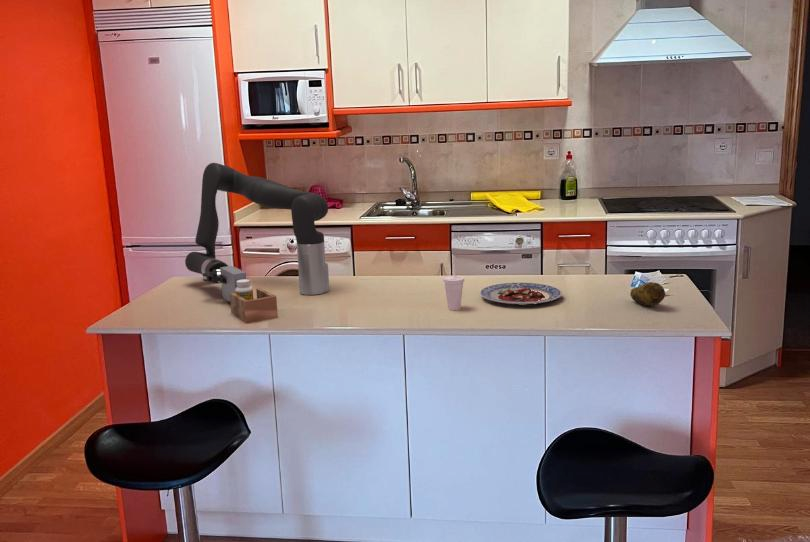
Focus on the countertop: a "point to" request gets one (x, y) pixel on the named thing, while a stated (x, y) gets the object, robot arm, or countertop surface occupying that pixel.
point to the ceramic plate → (520, 293)
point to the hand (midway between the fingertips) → (232, 279)
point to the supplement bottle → (244, 289)
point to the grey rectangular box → (231, 280)
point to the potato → (648, 293)
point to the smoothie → (454, 290)
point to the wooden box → (254, 306)
